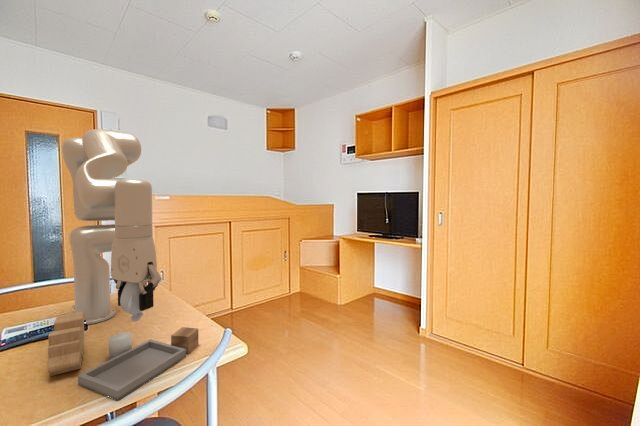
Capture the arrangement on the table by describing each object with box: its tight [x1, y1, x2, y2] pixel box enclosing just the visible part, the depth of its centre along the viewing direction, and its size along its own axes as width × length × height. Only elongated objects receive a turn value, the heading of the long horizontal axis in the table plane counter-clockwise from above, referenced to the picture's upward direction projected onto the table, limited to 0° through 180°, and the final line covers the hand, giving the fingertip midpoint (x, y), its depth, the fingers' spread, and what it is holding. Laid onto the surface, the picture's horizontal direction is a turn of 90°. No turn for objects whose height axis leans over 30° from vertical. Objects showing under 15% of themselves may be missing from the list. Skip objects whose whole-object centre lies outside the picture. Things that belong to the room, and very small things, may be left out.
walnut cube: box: [170, 326, 199, 355], centre depth 82 cm, size 5×5×5 cm
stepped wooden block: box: [46, 311, 85, 377], centre depth 74 cm, size 6×17×10 cm, turn 36°
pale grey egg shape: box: [108, 331, 133, 360], centre depth 78 cm, size 5×5×5 cm
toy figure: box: [120, 282, 147, 322], centre depth 70 cm, size 11×6×12 cm, turn 19°
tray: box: [77, 339, 187, 402], centre depth 71 cm, size 13×18×2 cm
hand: (135, 305), depth 70 cm, fingers closed on toy figure, 6 cm apart
